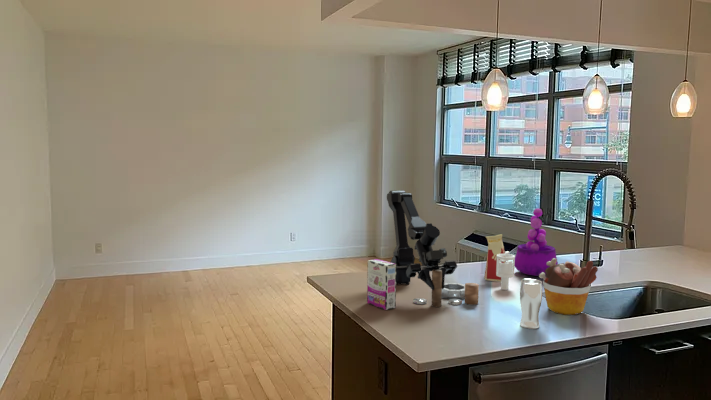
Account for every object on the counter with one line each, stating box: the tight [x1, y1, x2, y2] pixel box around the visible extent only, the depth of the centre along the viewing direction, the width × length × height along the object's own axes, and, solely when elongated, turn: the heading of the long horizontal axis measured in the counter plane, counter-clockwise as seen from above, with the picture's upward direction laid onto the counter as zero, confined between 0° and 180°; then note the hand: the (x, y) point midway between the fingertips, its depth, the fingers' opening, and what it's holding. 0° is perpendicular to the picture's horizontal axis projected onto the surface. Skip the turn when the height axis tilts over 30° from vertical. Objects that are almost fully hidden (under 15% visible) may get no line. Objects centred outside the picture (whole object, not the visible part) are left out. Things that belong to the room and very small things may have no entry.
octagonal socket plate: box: [442, 282, 465, 300], centre depth 219 cm, size 16×12×3 cm
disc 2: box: [447, 299, 463, 306], centre depth 208 cm, size 5×5×1 cm
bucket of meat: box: [538, 257, 599, 316], centre depth 198 cm, size 20×16×20 cm
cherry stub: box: [464, 282, 480, 306], centre depth 208 cm, size 5×5×7 cm
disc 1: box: [412, 297, 428, 305], centre depth 209 cm, size 5×5×1 cm
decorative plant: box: [514, 207, 559, 277], centre depth 249 cm, size 19×18×30 cm
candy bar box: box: [366, 258, 397, 311], centre depth 204 cm, size 11×5×16 cm, turn 37°
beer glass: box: [519, 278, 543, 330], centre depth 183 cm, size 7×7×15 cm
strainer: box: [496, 250, 516, 291], centre depth 226 cm, size 7×7×15 cm
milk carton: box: [483, 233, 507, 283], centre depth 242 cm, size 9×9×20 cm
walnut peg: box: [431, 270, 442, 308], centre depth 204 cm, size 4×4×13 cm
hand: (438, 288), depth 203 cm, fingers closed on walnut peg, 4 cm apart
